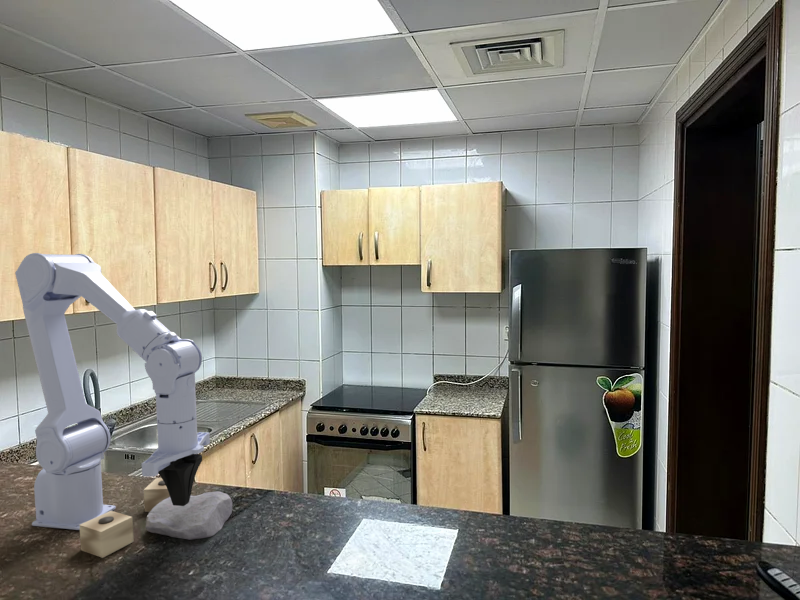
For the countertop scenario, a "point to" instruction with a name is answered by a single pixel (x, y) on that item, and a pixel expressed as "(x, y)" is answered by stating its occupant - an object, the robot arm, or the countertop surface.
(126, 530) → the beech block
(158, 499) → the beech block
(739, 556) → the countertop surface
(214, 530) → the stone block
